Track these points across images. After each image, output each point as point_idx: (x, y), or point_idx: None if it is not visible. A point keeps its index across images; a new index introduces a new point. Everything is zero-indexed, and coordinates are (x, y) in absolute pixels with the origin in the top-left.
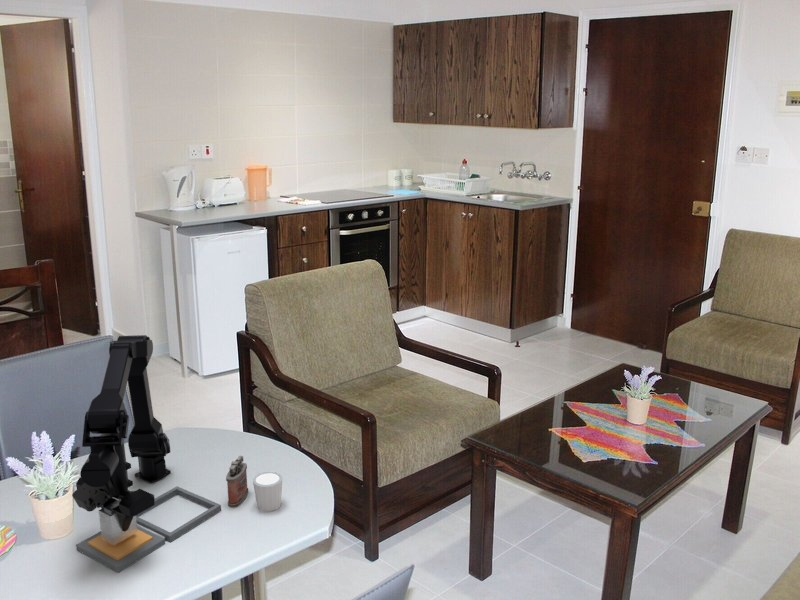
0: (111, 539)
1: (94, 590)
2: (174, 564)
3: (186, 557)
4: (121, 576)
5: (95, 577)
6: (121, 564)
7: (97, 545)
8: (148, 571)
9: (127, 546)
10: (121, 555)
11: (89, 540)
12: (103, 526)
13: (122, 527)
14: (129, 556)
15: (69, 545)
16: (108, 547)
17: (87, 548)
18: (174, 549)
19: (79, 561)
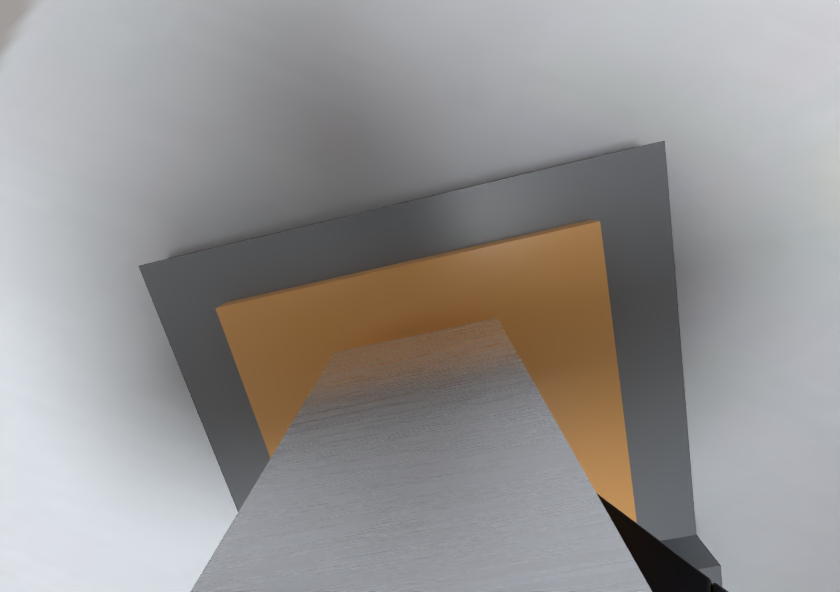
0: (349, 367)
1: (55, 42)
2: (64, 523)
3: (93, 588)
4: (116, 257)
5: (207, 114)
6: (163, 301)
7: (489, 263)
8: (76, 398)
9: None
10: (229, 343)
11: (632, 252)
12: (462, 400)
13: None
14: (225, 380)
15: (738, 128)
16: (398, 316)
17: (537, 194)
18: None
19: (478, 103)
